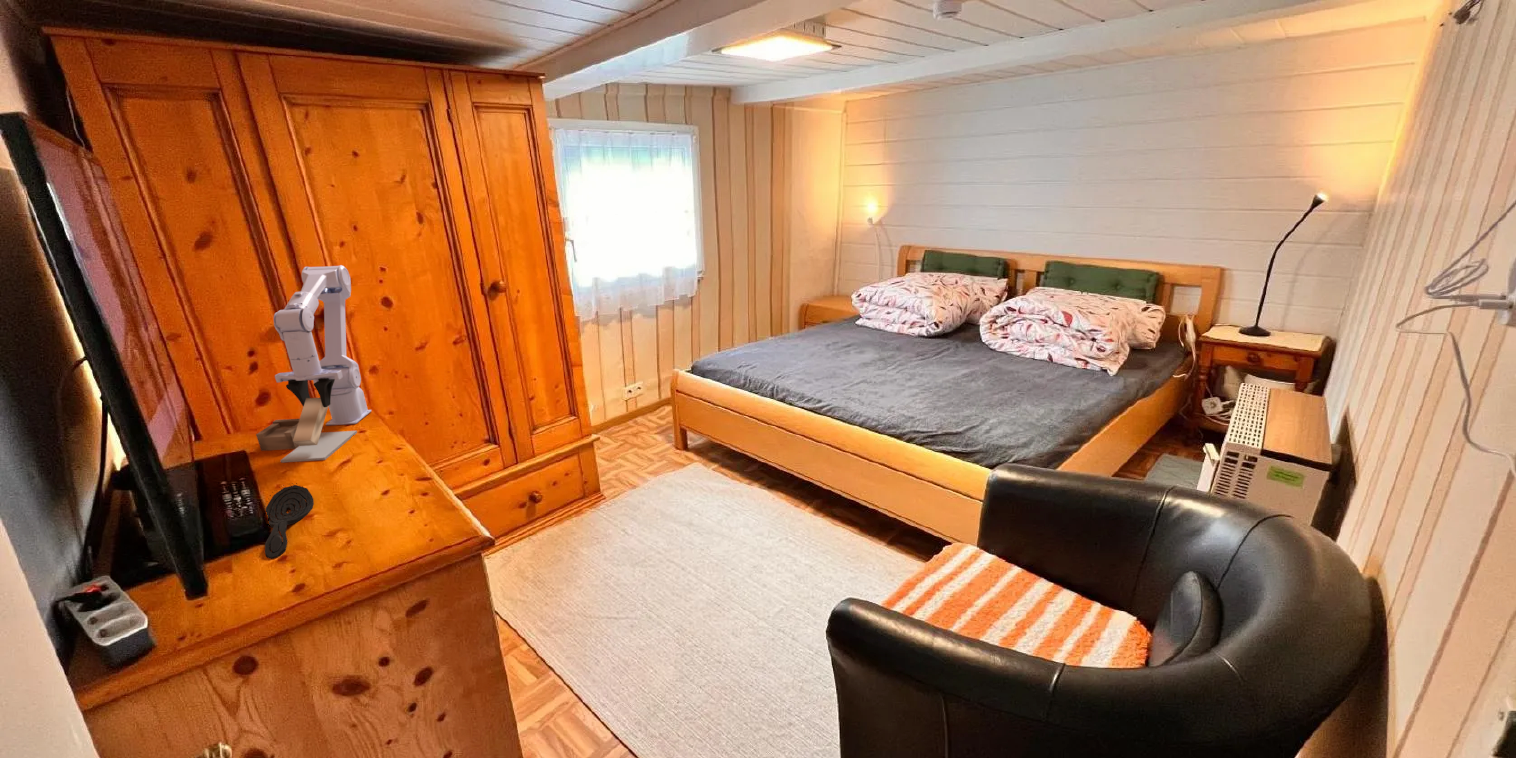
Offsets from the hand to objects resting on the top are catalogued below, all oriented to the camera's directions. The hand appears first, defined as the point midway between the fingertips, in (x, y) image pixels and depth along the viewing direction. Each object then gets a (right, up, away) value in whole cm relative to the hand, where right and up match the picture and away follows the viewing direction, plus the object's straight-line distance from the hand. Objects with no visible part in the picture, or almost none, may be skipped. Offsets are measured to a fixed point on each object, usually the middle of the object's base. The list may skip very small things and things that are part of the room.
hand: (317, 406), depth 151 cm
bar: (0, -4, -1) cm, 5 cm away
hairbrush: (+18, -23, -32) cm, 44 cm away
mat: (0, -11, +1) cm, 11 cm away
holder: (-10, -10, +3) cm, 14 cm away
